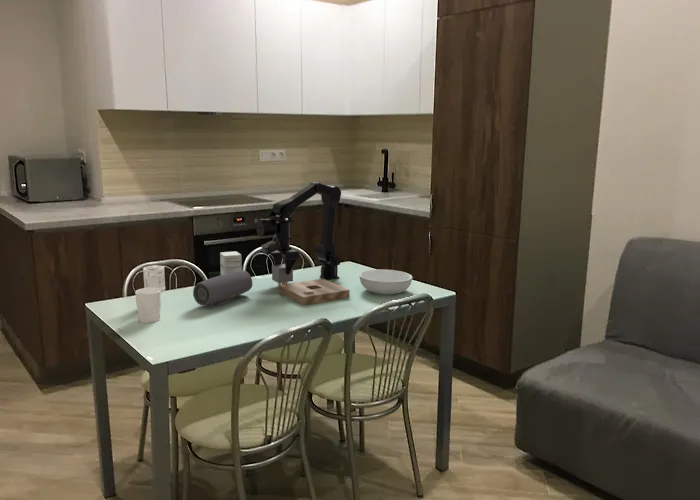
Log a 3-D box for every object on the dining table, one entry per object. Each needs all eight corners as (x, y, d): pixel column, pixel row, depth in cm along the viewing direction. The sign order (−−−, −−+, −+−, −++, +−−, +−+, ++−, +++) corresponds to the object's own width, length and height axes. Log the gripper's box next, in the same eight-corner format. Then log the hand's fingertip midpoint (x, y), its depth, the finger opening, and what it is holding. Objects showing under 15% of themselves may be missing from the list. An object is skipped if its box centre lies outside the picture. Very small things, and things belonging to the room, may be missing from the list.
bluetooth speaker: (235, 292, 230) (234, 267, 228) (253, 296, 225) (253, 270, 223) (192, 306, 211) (191, 279, 208) (211, 311, 206) (210, 283, 204)
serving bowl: (408, 301, 222) (409, 283, 221) (354, 297, 226) (354, 279, 225) (414, 287, 242) (414, 270, 241) (364, 283, 246) (364, 267, 245)
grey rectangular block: (286, 283, 243) (286, 263, 242) (292, 287, 238) (292, 266, 237) (272, 285, 240) (271, 265, 238) (278, 289, 235) (278, 268, 233)
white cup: (153, 314, 201) (151, 286, 199) (166, 319, 196) (165, 290, 194) (132, 320, 195) (130, 290, 193) (145, 325, 190) (143, 295, 188)
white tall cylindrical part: (147, 309, 207) (145, 267, 203) (143, 304, 212) (141, 263, 209) (168, 306, 210) (166, 265, 207) (163, 301, 216) (161, 261, 213)
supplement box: (220, 281, 245) (219, 252, 242) (238, 280, 248) (237, 250, 245) (224, 286, 238) (223, 255, 236) (242, 284, 241) (241, 254, 239)
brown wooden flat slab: (323, 285, 241) (323, 276, 241) (349, 297, 225) (349, 287, 224) (279, 292, 231) (278, 282, 230) (303, 305, 214) (303, 295, 214)
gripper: (254, 232, 238) (254, 269, 241) (274, 239, 223) (274, 279, 226) (278, 230, 244) (279, 266, 247) (300, 237, 229) (300, 276, 232)
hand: (282, 272), depth 238 cm, fingers open, 9 cm apart
